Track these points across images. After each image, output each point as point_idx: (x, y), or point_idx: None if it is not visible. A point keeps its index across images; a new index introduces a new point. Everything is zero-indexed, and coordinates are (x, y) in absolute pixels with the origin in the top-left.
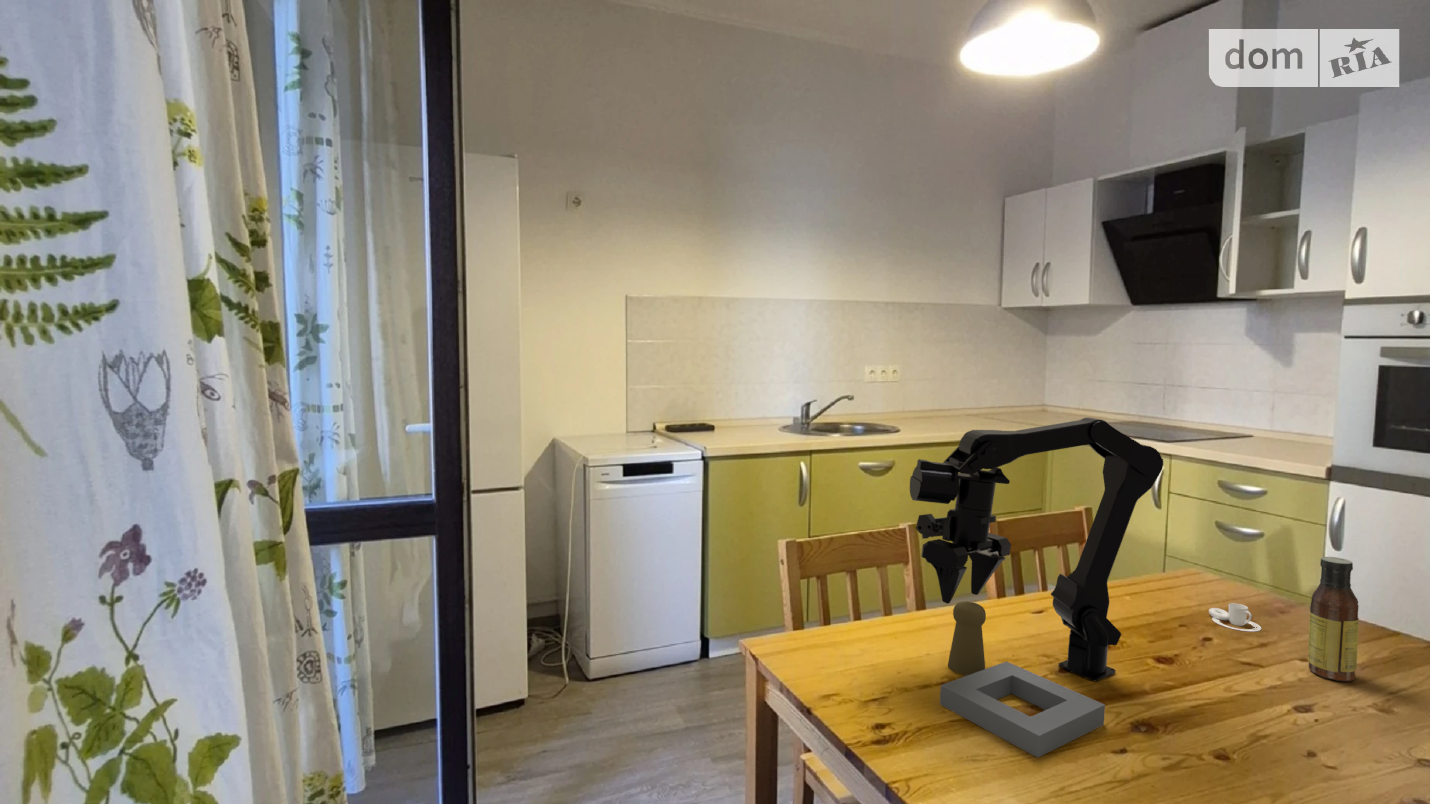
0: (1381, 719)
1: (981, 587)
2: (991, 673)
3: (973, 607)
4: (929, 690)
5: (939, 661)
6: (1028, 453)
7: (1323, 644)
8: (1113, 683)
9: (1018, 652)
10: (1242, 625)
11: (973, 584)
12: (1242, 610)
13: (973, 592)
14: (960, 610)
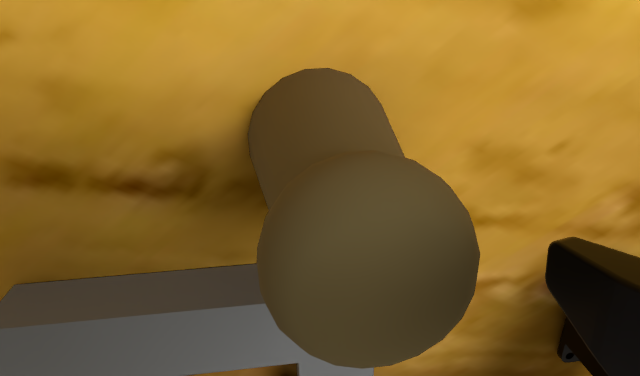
0: None
1: (605, 368)
2: (240, 334)
3: (355, 348)
4: (42, 205)
5: (263, 46)
6: None
7: None
8: (586, 370)
9: (599, 139)
10: None
11: (617, 308)
12: None
13: (557, 263)
14: (270, 294)
